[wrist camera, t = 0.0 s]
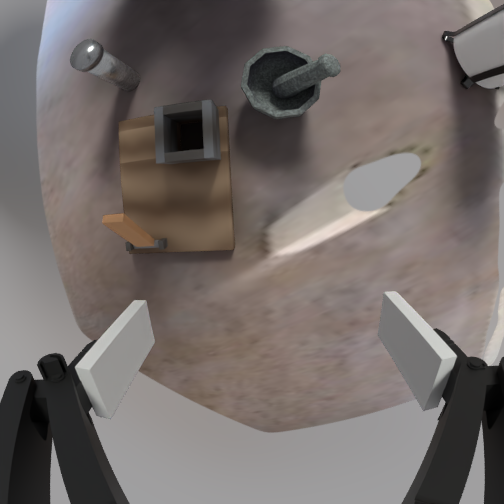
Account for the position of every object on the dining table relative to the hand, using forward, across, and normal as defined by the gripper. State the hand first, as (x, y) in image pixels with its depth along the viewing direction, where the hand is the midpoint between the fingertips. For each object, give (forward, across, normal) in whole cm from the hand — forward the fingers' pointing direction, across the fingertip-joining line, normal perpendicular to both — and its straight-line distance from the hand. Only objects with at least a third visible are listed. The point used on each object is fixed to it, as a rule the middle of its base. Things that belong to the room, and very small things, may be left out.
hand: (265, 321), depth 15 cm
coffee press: (+28, +41, +31) cm, 59 cm away
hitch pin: (+28, -19, +24) cm, 42 cm away
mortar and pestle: (+28, +4, +19) cm, 34 cm away
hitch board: (+28, -12, +7) cm, 31 cm away
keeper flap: (+21, -17, +2) cm, 27 cm away
